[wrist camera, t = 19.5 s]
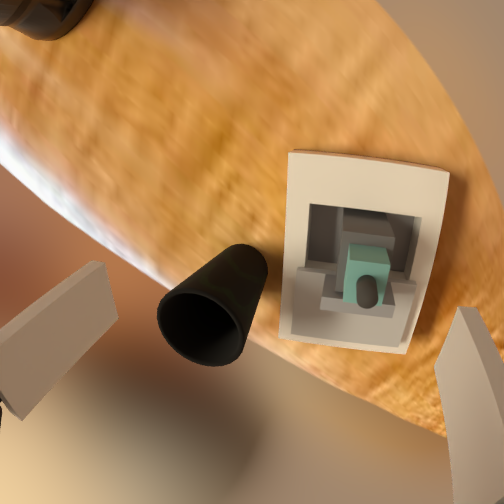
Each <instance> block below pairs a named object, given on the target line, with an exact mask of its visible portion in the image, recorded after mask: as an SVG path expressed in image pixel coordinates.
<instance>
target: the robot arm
mask: <svg viewBox="0 0 504 504" xmlns="http://www.w3.org/2000/svg"><path fill="white" fill-rule="evenodd" d="M92 1H93V0H0V26H9V27H11V28H13V29H15V30H17V31H19V32H21V33H23V34H25V35H27V36H29V37H30V38H32V39H36V40H45V41H51V40H55V39H58V38H60V37H62V36H63V35H65V34H66V33H67V32H69V31H70V30H71V29H72V28H73V27H74V26H75V25H76V24H77V23H78V22H79V20H80V19H81V18H82V17H83V15H84V14H85V13H86V11H87V10H88V8H89V6H90V5H91V3H92ZM118 319H119V318H118V314H117V311H116V307H115V303H114V299H113V295H112V291H111V287H110V283H109V278H108V274H107V269H106V265H105V263H104V262H98V261H90V262H89V263H87V264H86V265H85V266H83V267H82V268H80V269H79V270H77V271H76V272H75V273H73V274H72V275H71V276H69V277H68V278H66V279H65V280H64V281H62V282H61V283H59V284H58V285H57V286H55V287H54V288H53V289H51V290H50V291H49V292H47V293H46V294H45V295H43V296H42V297H41V298H39V299H38V300H37V301H35V302H34V303H33V304H31V305H30V306H29V307H28V308H26V309H25V310H24V311H22V312H21V313H20V314H19V315H17V316H16V317H15V318H14V319H12V320H11V321H10V322H9V323H7V324H6V325H5V326H4V327H2V328H1V329H0V402H1V401H3V403H4V404H5V405H6V407H7V408H8V410H9V411H10V412H11V413H12V414H13V415H14V416H16V417H17V418H18V419H20V420H21V421H23V419H24V418H25V417H26V416H27V415H28V414H29V413H30V412H31V410H32V409H33V408H34V407H35V406H36V405H37V404H38V403H39V401H41V399H42V398H43V397H44V396H45V395H46V394H47V393H48V392H49V391H50V390H51V388H52V387H53V386H54V385H55V384H56V383H57V382H58V381H59V380H60V379H61V378H62V377H63V376H64V374H65V373H66V372H67V371H68V370H69V369H70V368H71V367H72V366H73V365H74V364H75V363H76V362H77V361H78V360H79V358H80V357H81V356H82V355H83V354H84V353H85V352H86V351H87V350H88V349H89V348H90V347H91V346H92V345H93V344H94V343H95V342H96V341H97V340H98V339H99V338H100V337H101V336H102V335H103V334H104V333H105V332H106V331H107V330H108V329H109V328H110V327H111V326H112V325H113V324H114V323H115V322H116V321H117V320H118ZM434 370H435V374H436V379H437V383H438V388H439V393H440V398H441V403H442V408H443V414H444V420H445V426H446V432H447V439H448V445H449V454H450V462H451V472H452V482H453V498H454V504H504V363H503V361H502V359H501V356H500V354H499V352H498V350H497V348H496V346H495V343H494V341H493V339H492V337H491V335H490V333H489V331H488V329H487V327H486V325H485V323H484V321H483V319H482V317H481V315H480V314H479V312H478V310H477V308H475V307H462V306H458V308H457V311H456V313H455V316H454V319H453V322H452V324H451V327H450V330H449V332H448V335H447V337H446V340H445V342H444V345H443V347H442V349H441V352H440V354H439V356H438V359H437V361H436V363H435V365H434ZM1 417H2V408H1V406H0V426H1Z"/></svg>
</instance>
